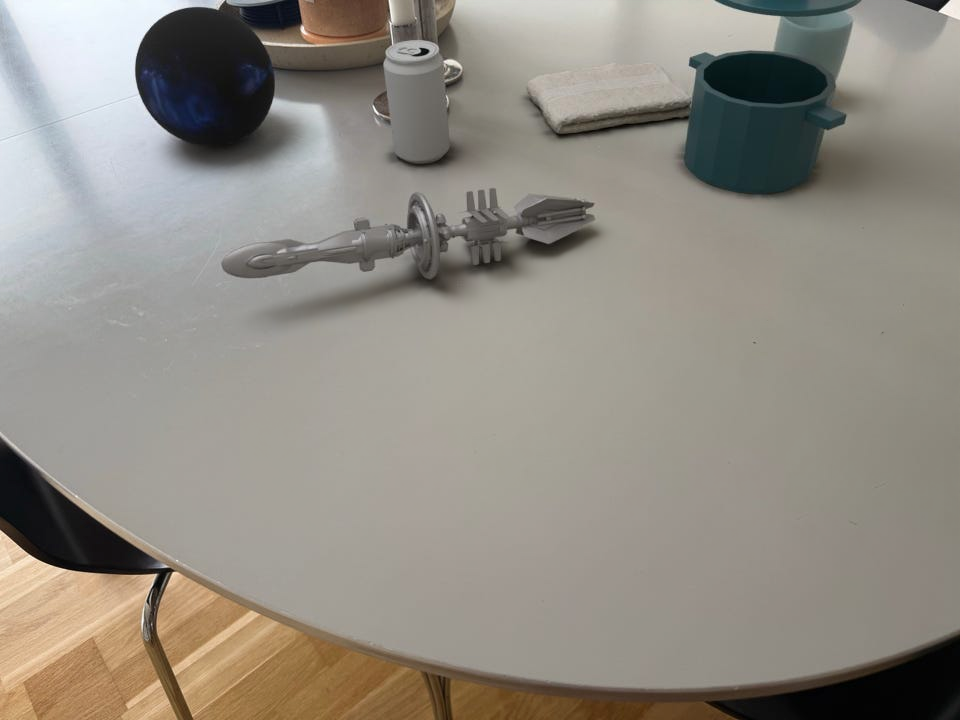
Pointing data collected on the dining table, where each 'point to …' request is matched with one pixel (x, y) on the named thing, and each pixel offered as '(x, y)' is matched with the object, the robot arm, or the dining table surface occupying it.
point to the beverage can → (417, 101)
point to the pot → (758, 120)
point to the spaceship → (418, 236)
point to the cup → (816, 38)
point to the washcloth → (608, 96)
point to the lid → (791, 6)
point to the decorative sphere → (204, 76)
